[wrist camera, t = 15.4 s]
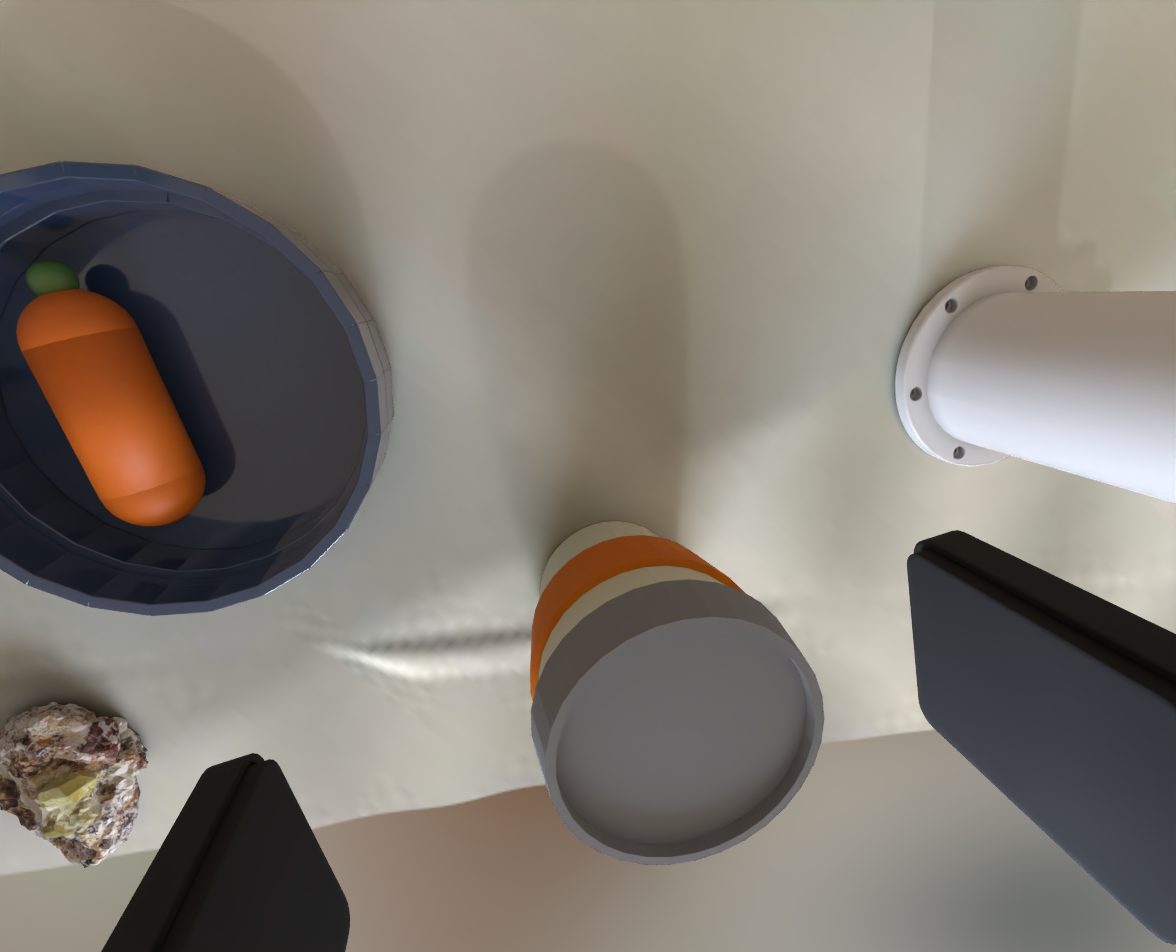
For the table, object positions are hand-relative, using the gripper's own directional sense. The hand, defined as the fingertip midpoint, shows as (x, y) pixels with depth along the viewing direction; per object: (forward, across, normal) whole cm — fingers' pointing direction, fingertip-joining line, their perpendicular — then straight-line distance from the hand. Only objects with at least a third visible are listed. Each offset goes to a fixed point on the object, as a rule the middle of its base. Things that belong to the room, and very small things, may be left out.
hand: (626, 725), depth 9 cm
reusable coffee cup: (+28, -3, +13) cm, 31 cm away
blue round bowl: (+28, +15, -5) cm, 32 cm away
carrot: (+25, +18, -5) cm, 31 cm away
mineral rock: (+28, +30, +14) cm, 43 cm away
